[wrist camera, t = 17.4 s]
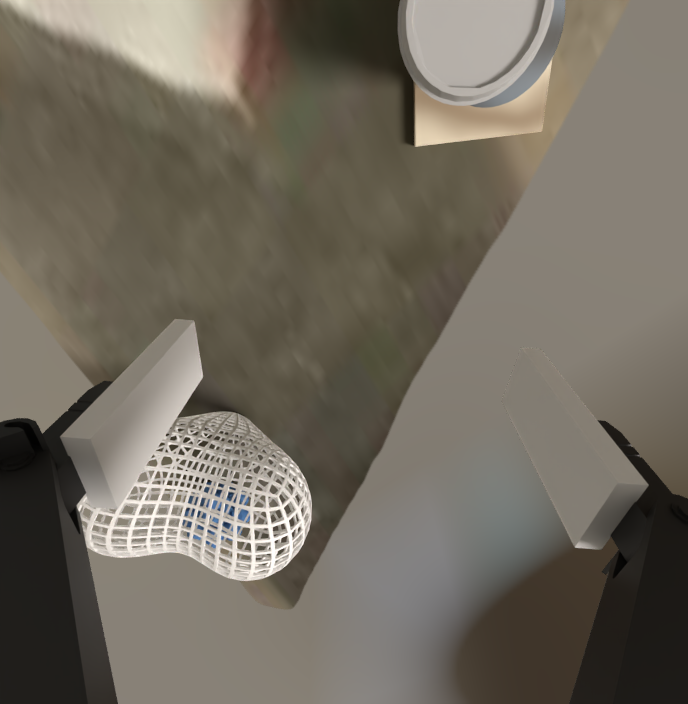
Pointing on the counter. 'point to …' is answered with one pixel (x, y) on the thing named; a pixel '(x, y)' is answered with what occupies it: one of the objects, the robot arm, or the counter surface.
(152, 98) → the counter surface
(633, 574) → the robot arm
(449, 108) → the board
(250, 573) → the heart
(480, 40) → the disposable coffee cup
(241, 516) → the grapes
